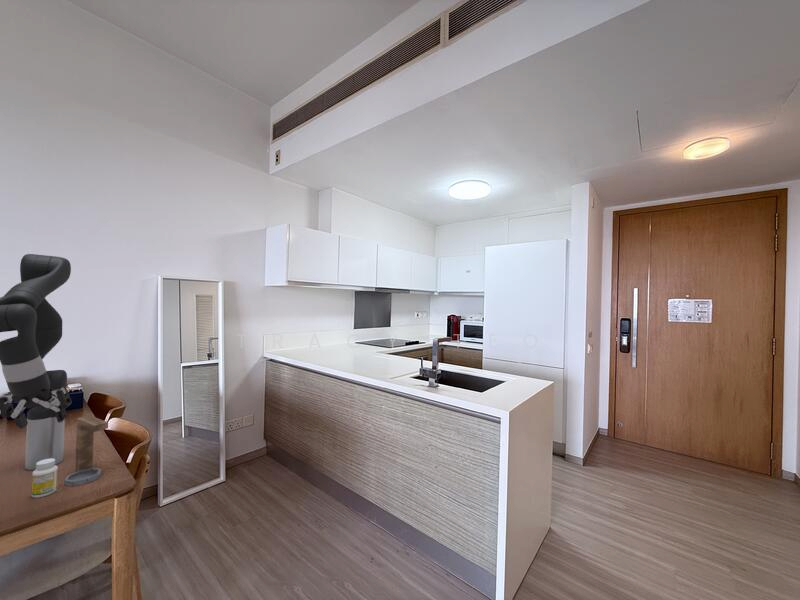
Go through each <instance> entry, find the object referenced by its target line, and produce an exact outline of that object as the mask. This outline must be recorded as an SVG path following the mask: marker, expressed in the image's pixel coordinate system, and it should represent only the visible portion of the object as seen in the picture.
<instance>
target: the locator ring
mask: <svg viewBox="0 0 800 600" xmlns="http://www.w3.org/2000/svg"><path fill="white" fill-rule="evenodd" d="M101 473H102V469H101V468H97V467H92V468H90V469H85V470H80V471H77V472H76V471H75V472H73V473H70V474H68V475H67V476H66V477H65V479H64V485H65V486H68V487H76V486H75V485H78V486H82V485H81V484H83V485H85V483H86V484H88V483H87V482H89V483H91V481H92V482H93V480H94V481H95V479H96V480H97V479H99V478H100V476H101Z"/></svg>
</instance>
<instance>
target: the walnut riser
mask: <svg viewBox="0 0 800 600" xmlns="http://www.w3.org/2000/svg"><path fill="white" fill-rule="evenodd" d="M106 429H109V422H108V421H106V420H103V419H100V418H98V417H95V416H92V415H87V416H82V417H78V418H77V419H76V439H75V444H76V445H75V446H76V447H75V465H74V466H75V467H74V468H75V472H77V471H80V470H85V469H90V468H93V466H94V465H93V462H94V461H93V460H94V458H93V457H94V454H93V453H94V437H95V436H94V433H95V432H99V431H103V430H106Z"/></svg>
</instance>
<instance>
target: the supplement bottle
mask: <svg viewBox="0 0 800 600" xmlns="http://www.w3.org/2000/svg"><path fill="white" fill-rule="evenodd" d="M54 464H55V459H53V458H51V459H45V460H41V461H39V462H37V463H36V470H33V471H32V474H31V477H32V478H31V497H32V498H42V497H46V496H49V495H51V494H53V493H55V492H56V491H57V490H58V476H59V475H58V473H59V467H58V465H57V464H56V465H54Z"/></svg>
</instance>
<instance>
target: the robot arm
mask: <svg viewBox="0 0 800 600" xmlns="http://www.w3.org/2000/svg"><path fill="white" fill-rule="evenodd" d="M19 265H20V267H19V274H20V282H19V283H17V284H15V285H14V286H12V287H11V288H9V290H8V291H7V292H6V293H5V294H4V295H3V296H0V333H6V332H13V331H14V332H15V331H16V332H17V336H13V337H9V338H5V339H4V340H0V365H1V368H2V374H3V377H4V380H5V382H6V386H7V389H8V391H9V393H4V394H3V395H1V396H0V415H1V417H2V418H7V417H11V419H13V420H14V424H15V425H16V426H17V428H19V429H25V428H26V438H25V439H26V440H25V460H24V462H25V464H24V465H25V466H24V469H25V470H27V471H35V470H36V463H37V462H39V461H41V460H45V459H51V458H53V459H55V464H54V465H56V466H57V464H60V463H61V462H62V461H64V450H65V449H64V445H65V421H66V418H67V415H68V414H67V411H66V409H67V408H68V407H69V406H70V405H71V404H72V403H73V402H72V398H71V396H70V393H69V392H68V388H67V385H68V374H67V371H66V370H64V369H55V370H47V369H46V366H45V363H44V361H43V359H44V358H45V357H46V356H47V355H48V354H49V352H51V351H52V350H53V349H54V348H55V347H56V346H57V344H58V343H60V341H61V339H62V337H63V318H62V316H61V315H60V313H59V312H58V311H57V310H56V308H54V307H53V305H52V304H51V303H49V301H48V300H47V299H46V297H47V296H48V295H50V294H51V293H52V292H54V291H56V290H57V289H59V288H60V287H61V286H62V285H64V284H65V283H67V281H68V280H69V278H70V277H71V272H72V266H71V262H70V261H69V259H67V258H66V257H61V256H56V255H55V256H53V255H45V254H36V253H27V254H24V255H23V256H22V258H21V259H20V264H19ZM12 402H15V403H16V404H17V406H16V407H15V408H14V406H13V403H12ZM26 408H27V409H29V410H28V411H27V414H25V412H24V410H25V409H26Z"/></svg>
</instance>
